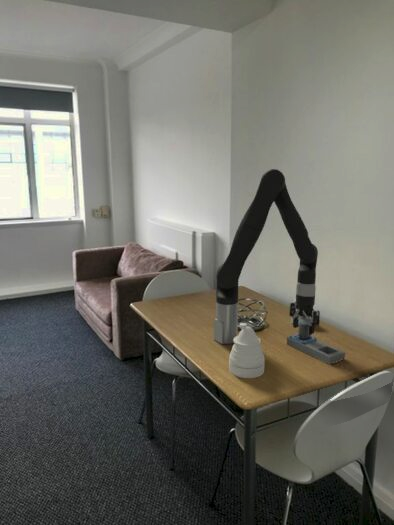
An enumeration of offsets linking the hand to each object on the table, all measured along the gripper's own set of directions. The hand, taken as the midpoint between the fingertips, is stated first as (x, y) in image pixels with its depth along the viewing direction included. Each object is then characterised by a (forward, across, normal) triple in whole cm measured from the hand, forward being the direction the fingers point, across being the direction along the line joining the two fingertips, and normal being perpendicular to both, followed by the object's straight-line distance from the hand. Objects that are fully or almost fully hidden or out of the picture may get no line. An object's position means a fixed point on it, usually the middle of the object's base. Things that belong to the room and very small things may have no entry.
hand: (303, 330), depth 175 cm
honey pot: (+7, +4, -33) cm, 34 cm away
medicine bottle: (+7, -20, +19) cm, 29 cm away
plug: (+7, 0, 0) cm, 7 cm away
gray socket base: (+7, +6, 0) cm, 9 cm away
